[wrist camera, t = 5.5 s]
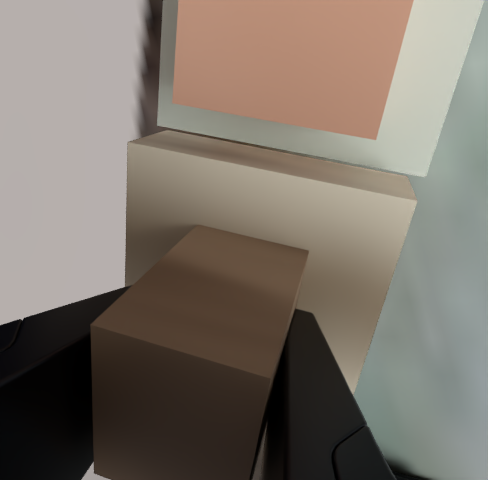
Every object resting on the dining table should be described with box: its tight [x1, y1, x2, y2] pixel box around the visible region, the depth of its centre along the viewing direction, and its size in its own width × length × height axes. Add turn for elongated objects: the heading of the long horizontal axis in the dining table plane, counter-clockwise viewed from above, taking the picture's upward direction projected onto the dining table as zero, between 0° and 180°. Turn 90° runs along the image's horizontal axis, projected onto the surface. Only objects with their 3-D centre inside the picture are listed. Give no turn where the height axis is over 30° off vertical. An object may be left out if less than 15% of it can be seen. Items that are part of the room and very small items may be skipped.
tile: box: [172, 0, 414, 140], centre depth 8 cm, size 4×4×2 cm
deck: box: [157, 0, 484, 177], centre depth 10 cm, size 7×7×3 cm
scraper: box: [90, 130, 417, 480], centre depth 9 cm, size 6×6×6 cm
